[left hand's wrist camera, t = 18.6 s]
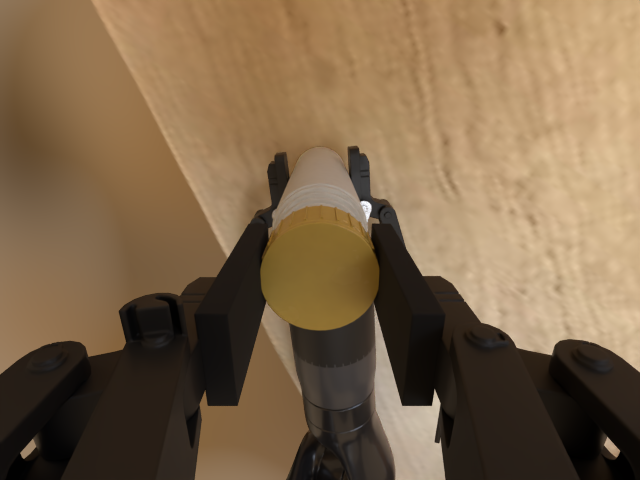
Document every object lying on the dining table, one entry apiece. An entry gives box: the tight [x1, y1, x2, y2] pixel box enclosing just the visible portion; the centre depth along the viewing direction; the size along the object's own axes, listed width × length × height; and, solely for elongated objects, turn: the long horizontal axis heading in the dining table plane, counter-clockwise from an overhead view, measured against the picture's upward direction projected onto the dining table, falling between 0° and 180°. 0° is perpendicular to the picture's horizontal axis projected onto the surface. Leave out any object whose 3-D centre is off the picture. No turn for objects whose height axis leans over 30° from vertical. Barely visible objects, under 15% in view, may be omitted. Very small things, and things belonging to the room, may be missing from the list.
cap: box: [260, 205, 380, 330], centre depth 13 cm, size 4×4×2 cm
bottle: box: [272, 147, 368, 232], centre depth 23 cm, size 5×5×21 cm
